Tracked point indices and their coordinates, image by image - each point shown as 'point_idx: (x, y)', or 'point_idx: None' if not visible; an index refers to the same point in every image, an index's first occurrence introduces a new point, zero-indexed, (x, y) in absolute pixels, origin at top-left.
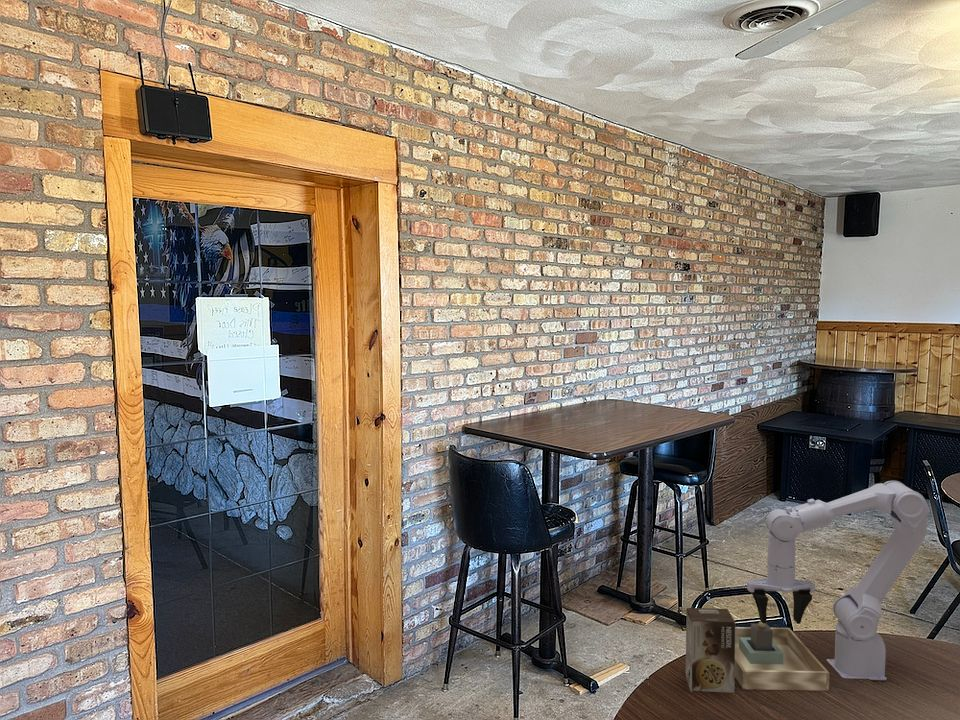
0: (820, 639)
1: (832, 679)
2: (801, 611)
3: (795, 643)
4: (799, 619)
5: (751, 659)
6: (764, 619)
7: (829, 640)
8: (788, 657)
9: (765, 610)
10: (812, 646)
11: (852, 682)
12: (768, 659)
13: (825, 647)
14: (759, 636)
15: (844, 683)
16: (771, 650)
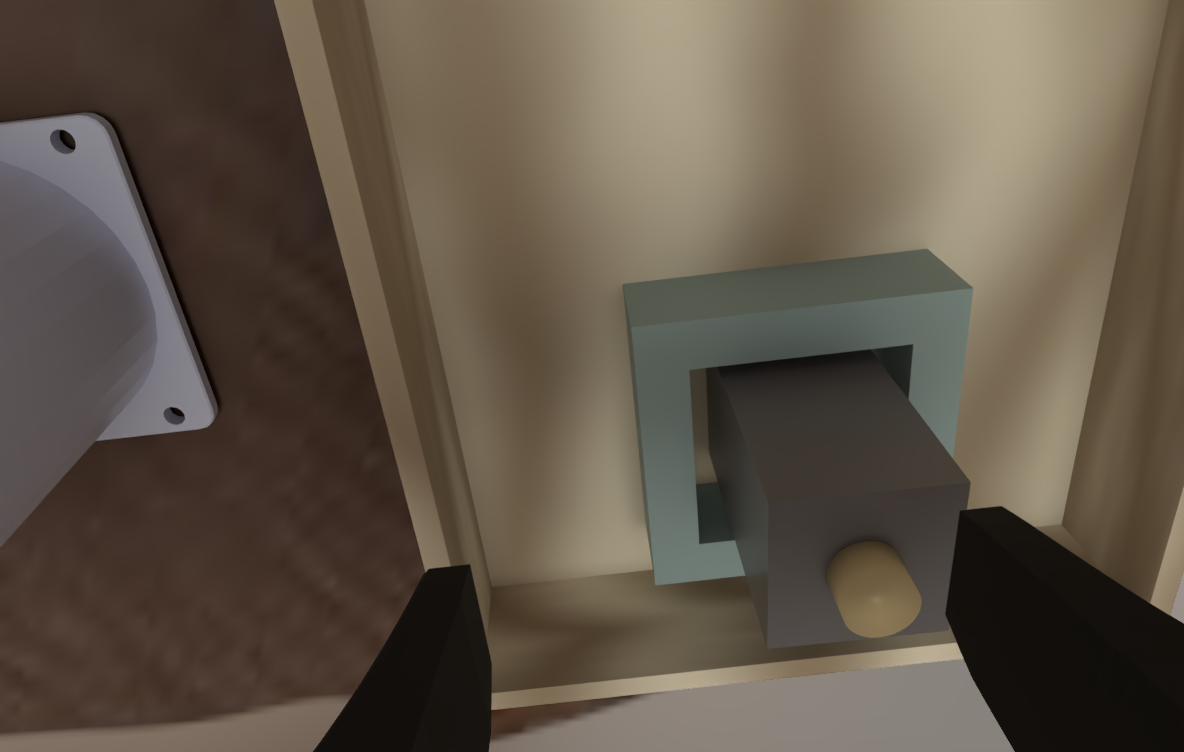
0: (216, 699)
1: (212, 117)
2: (383, 727)
3: (455, 524)
4: (435, 609)
5: (932, 266)
6: (1031, 541)
7: (152, 697)
8: (539, 402)
9: (1151, 654)
10: (293, 608)
11: (26, 87)
12: (769, 284)
13: (196, 608)
14: (906, 444)
15: (105, 55)
16: (726, 380)
